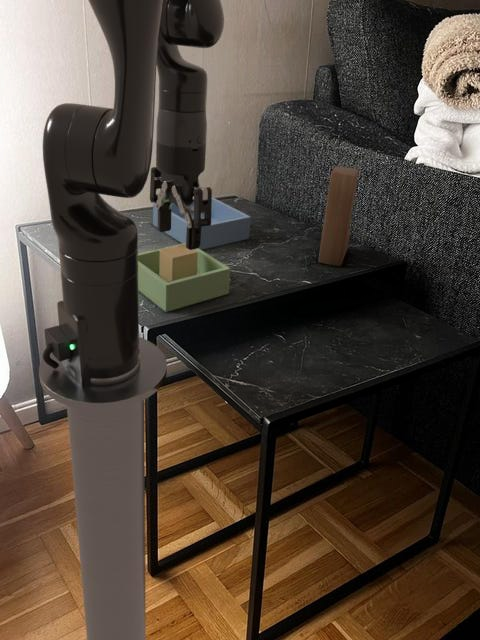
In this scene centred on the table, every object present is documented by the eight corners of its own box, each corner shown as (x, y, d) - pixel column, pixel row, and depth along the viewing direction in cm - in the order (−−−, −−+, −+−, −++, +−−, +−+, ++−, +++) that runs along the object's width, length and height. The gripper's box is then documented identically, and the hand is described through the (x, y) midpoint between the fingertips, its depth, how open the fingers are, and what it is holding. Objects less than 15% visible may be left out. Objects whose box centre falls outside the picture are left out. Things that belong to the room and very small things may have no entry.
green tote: (165, 312, 97) (166, 285, 95) (126, 281, 106) (126, 255, 103) (228, 293, 104) (230, 268, 102) (187, 266, 113) (188, 242, 110)
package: (171, 291, 102) (172, 258, 99) (159, 281, 105) (159, 249, 102) (196, 284, 105) (197, 252, 102) (183, 275, 107) (184, 243, 104)
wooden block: (325, 246, 126) (338, 159, 117) (347, 250, 125) (362, 162, 116) (317, 263, 118) (331, 171, 109) (340, 267, 117) (356, 175, 108)
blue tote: (194, 251, 119) (195, 228, 116) (152, 225, 129) (152, 203, 127) (249, 238, 126) (250, 216, 124) (205, 214, 137) (206, 194, 134)
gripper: (135, 130, 95) (136, 229, 103) (186, 152, 85) (183, 259, 93) (176, 127, 99) (174, 222, 107) (229, 148, 90) (222, 250, 98)
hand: (178, 239), depth 100 cm, fingers open, 8 cm apart
